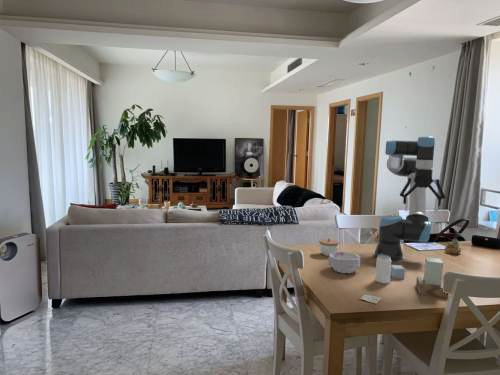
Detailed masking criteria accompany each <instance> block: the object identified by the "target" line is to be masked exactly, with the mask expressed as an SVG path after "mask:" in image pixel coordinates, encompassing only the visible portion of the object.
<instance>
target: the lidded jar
mask: <svg viewBox="0 0 500 375" xmlns="http://www.w3.org/2000/svg"><path fill="white" fill-rule="evenodd" d="M318 242H319V245H318V246H319V250H320V252H321V254H322V255H323V254H324V255H323V256H325V255H329V254H330V253H333V252H338V249H339V241H338V240H336V239H332V238H322V239H319V241H318Z"/></svg>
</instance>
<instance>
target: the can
mask: <svg viewBox="0 0 500 375" xmlns="http://www.w3.org/2000/svg"><path fill="white" fill-rule="evenodd" d="M391 265H392V260H391V257H390V256H388V255H378V257H376V264H375V277H374V278H375V281H376V282H377V283H378V282H379V284H382V283H383V284H384V285H385V284H389V283H390V282H391V275H390V274H391Z"/></svg>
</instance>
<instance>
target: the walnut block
mask: <svg viewBox="0 0 500 375" xmlns="http://www.w3.org/2000/svg"><path fill="white" fill-rule="evenodd" d="M443 279H444V278H442V282H441V286H440V285H431V284H426V283H425V281H424V276H416V283H415V286H416V288H417V290H418V294H419V295H422V294H424V295H423V296H430V295H432V297H438V296H445V297H444V298H446V297H448V298H449V295H450V293H445V292H443Z"/></svg>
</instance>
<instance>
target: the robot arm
mask: <svg viewBox="0 0 500 375" xmlns="http://www.w3.org/2000/svg"><path fill="white" fill-rule="evenodd" d="M435 141H436V140H435V137H434V136H419V137H418V138H417V140H394V139H393V140H386V142H385V151H384V152H385V155H387V156H388V159H387V160H386V167H387V168H386V169H387V170H388V171H389V172H391V173H392V174H394V175H395V176H398V177H403V178H404V177H407V182H405V185H404V186H403V188H402V190H400V192H399V196H400V197H402V198H403V199H402V202H403V205H404V206H405V207H404V211H405V212H407V211H408V214H407V215H406V217H405V218H403V216H402V215H386V216H382V217H380V220H379V225H378V226H379V230H378V231H379V232H378V242H377V244H376V248H375V250H374V256H375V258H377V257H378V255H388V256H390V257H391V261H401V260H403V258H404V253H403V250H402V244H401V241H409V242H418V243H428V242H429V240H430V237H431V230H432V221H430V220H429V216H427V214H426V213H427V206H426V205H427V204H426V202H427V201H426V200H427V199H426V198H427V194H426V191H427V188H428V189H429V190H430V191H431V192H432V193H433V195H434V196H435V197H436V198H435V202H434V203H435V204H434V205H435V206H434V213H435V214H438V210H439V207H441V204H442V203H441V202H442V200H444V199H446V195H445V193H444V191H443V189H442V187H441V184H440V179H438V178H436V179H434V178H433V167H434V157H435V156H434V155H435V154H434V153H435V145H436V142H435ZM405 156H410V157H405ZM411 156H416V157H411ZM432 183H434V184H435V185H436V187H437V189H438V191H436V190H435V188H434V187H433V186H432ZM408 188H409V189H408ZM407 189H408V190H407ZM438 192H439V194H438ZM408 197H409V198H408ZM408 204H409V206H408ZM408 207H409V208H408Z"/></svg>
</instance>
